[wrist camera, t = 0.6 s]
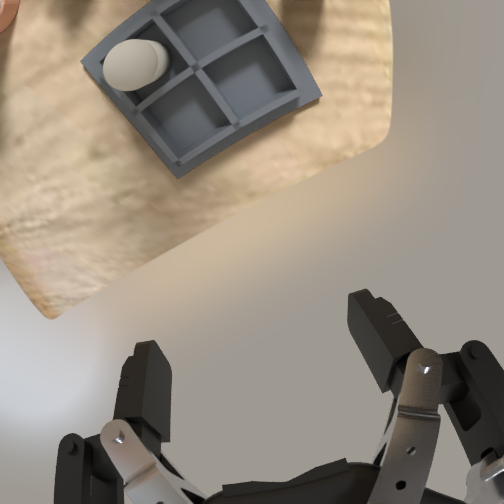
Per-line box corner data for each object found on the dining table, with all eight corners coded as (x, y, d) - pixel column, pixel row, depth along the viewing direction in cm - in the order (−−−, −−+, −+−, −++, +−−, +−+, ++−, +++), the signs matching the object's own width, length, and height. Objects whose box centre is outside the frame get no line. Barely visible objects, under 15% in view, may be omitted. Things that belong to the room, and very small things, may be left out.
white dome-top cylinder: (120, 60, 23) (83, 67, 16) (155, 32, 22) (128, 26, 15) (144, 90, 26) (116, 107, 19) (180, 63, 25) (162, 69, 18)
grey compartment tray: (83, 60, 23) (68, 63, 20) (230, -41, 17) (231, -51, 14) (178, 175, 35) (174, 190, 32) (320, 94, 29) (331, 100, 26)
